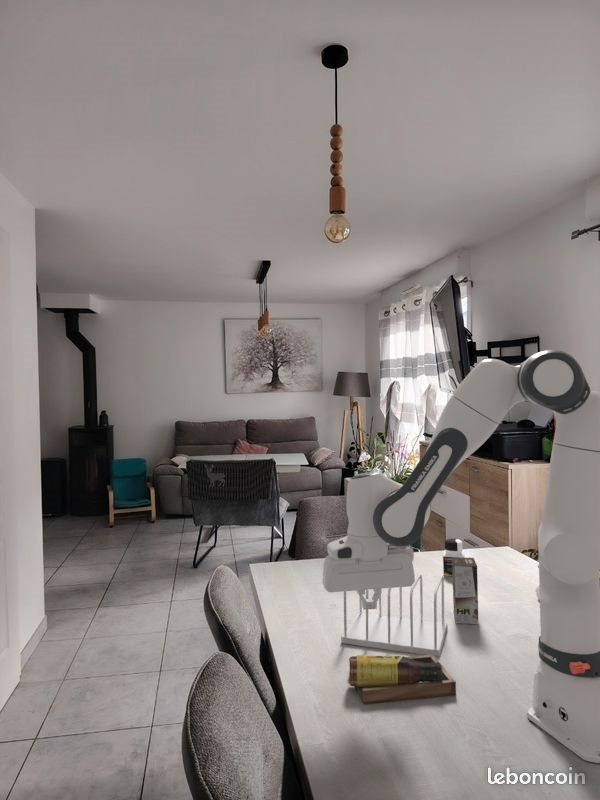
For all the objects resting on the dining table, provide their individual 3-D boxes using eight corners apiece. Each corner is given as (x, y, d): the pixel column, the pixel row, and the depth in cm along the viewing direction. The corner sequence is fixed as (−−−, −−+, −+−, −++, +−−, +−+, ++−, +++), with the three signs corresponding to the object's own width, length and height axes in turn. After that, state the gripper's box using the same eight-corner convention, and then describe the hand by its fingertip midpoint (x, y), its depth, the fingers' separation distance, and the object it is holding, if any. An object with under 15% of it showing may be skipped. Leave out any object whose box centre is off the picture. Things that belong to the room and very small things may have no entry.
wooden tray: (456, 695, 119) (455, 681, 119) (363, 704, 117) (363, 690, 117) (433, 666, 132) (433, 654, 132) (350, 674, 130) (349, 662, 130)
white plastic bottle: (443, 575, 199) (442, 541, 199) (444, 569, 206) (443, 536, 206) (464, 577, 197) (463, 542, 197) (464, 571, 203) (463, 537, 203)
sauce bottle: (348, 662, 128) (437, 664, 127) (349, 691, 123) (441, 694, 122) (348, 649, 124) (440, 652, 122) (349, 679, 119) (445, 682, 118)
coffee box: (479, 624, 156) (477, 566, 156) (455, 623, 157) (453, 565, 157) (475, 612, 165) (474, 557, 164) (453, 611, 166) (451, 556, 166)
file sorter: (340, 644, 146) (339, 584, 146) (358, 619, 162) (356, 565, 162) (439, 657, 137) (437, 593, 137) (447, 629, 153) (445, 572, 153)
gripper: (408, 539, 129) (410, 599, 129) (320, 544, 126) (322, 606, 126) (418, 546, 122) (419, 609, 122) (325, 552, 120) (327, 617, 120)
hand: (369, 608), depth 124 cm, fingers closed
